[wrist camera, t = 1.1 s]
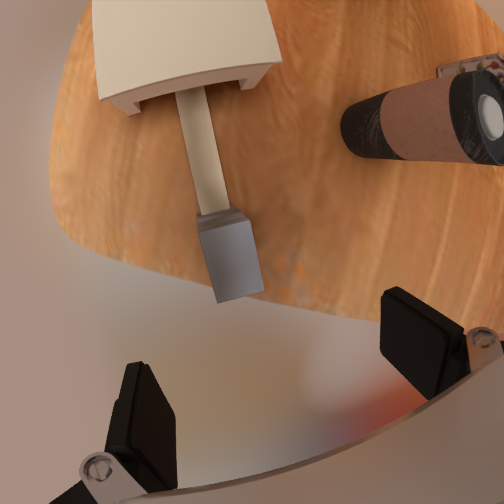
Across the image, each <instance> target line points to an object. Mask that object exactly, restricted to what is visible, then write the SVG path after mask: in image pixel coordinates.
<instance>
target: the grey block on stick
mask: <svg viewBox="0 0 504 504" xmlns="http://www.w3.org/2000/svg"><path fill="white" fill-rule="evenodd" d="M175 96H176V101H177V106H178V111H179V116H180V121H181V126H182V131H183V135H184V140H185V145H186V149H187V154H188V159H189V163H190V168H191V172H192V176H193V181H194V185H195V189H196V194H197V198H198V202H199V206H200V211H201V213H200V214H197V224H198V234H199V238H200V242H201V245H202V249H203V253H204V257H205V261H206V264H207V268H208V272H209V275H210V279H211V283H212V286H213V290H214V293H215V297H216V300H217V303H222V302H225V301H229V300H233V299H237V298H240V297H244V296H248V295H251V294H255V293H259V292H262V291H265V290H264V285H263V280H262V275H261V271H260V266H259V261H258V256H257V251H256V247H255V242H254V237H253V232H252V228H251V223H250V220H249V219H248V218H247V217H246V216H245V215H243V214H242V213H241V212H240V211H239V210H237V209H236V208H235V207H234V206H233V205H232V206H230V205H229V201H228V196H227V191H226V187H225V182H224V178H223V173H222V169H221V164H220V159H219V155H218V150H217V146H216V141H215V136H214V132H213V127H212V122H211V118H210V113H209V108H208V103H207V99H206V94H205V89H204V85H203V86H198V87H194V88H189V89H184V90H180V91H176V92H175Z"/></svg>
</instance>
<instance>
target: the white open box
mask: <svg viewBox="0 0 504 504" xmlns="http://www.w3.org/2000/svg"><path fill="white" fill-rule="evenodd" d="M92 23H93V43H94V57H95V68H96V77H97V86H98V94H99V100H100V101H104V100H107V99H108V100H109V101H110V102H111V103H112V104H114V105H115V106H116V107H117V108H118V109H120V110H121V111H122V112H123V113H124V114H126V115H127V116H131V115H134V114H137V113H140V112H141V110H140V104H139V101H142V100H145V99H149V98H152V97H156V96H160V95H164V94H168V93H172V92H176V91H180V90H184V89H189V88H194V87H198V86H203V85H209V84H214V83H220V82H226V81H232V80H238V81H239V85H240V90H246V89H253V88H255V86H256V85H257V84H258V83H259V81H260V80H261V79H262V78H263V76H264V75H265V74H266V73H267V71H268V70H269V69H270V68H271V67H272V65H273V64H281V63H282V57H281V53H280V49H279V46H278V42H277V38H276V35H275V31H274V28H273V24H272V21H271V17H270V14H269V11H268V8H267V4H266V1H265V0H92Z"/></svg>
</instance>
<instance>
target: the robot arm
mask: <svg viewBox="0 0 504 504" xmlns="http://www.w3.org/2000/svg"><path fill="white" fill-rule="evenodd" d="M463 332H464V328H463V327H461V326H460V325H458V324H457V323H455V322H454V321H452V320H451V319H449V318H448V317H446V316H444V315H443V314H441V313H440V312H438V311H437V310H435V309H433V308H432V307H430V306H429V305H427V304H426V303H424V302H422V301H421V300H419V299H418V298H416V297H414V296H413V295H411V294H410V293H408V292H406V291H405V290H403V289H401V288H400V287H398V286H395V287H393V288H390V289H388V290H385V291H384V293H383V295H382V296H381V325H380V351H381V353H382V355H383V356H384V357H385V358H386V359H387V360H388V361H389V362H390V363H391V364H392V365H393V366H394V367H395V368H396V369H397V370H398V371H399V372H400V373H401V374H402V375H403V376H404V377H405V378H406V379H407V380H408V381H409V382H410V383H411V384H412V385H413V386H414V387H415V388H416V389H417V390H418V391H419V392H420V393H421V394H422V395H423V396H424V397H425V398H426V399H427V400H429V401H428V402H426V403H424V404H423V405H421V406H420V407H418V408H416V409H415V410H413V411H411V412H409V413H408V414H406V415H404V416H402V417H400V418H399V419H397V420H395V421H393V422H391V423H389V424H387V425H385V426H383V427H382V428H380V429H378V430H376V431H374V432H372V433H370V434H367V435H365V436H363V437H361V438H359V439H356V440H354V441H352V442H350V443H347V444H345V445H343V446H340V447H338V448H335V449H333V450H330V451H328V452H325V453H323V454H320V455H317V456H314V457H312V458H309V459H306V460H303V461H300V462H297V463H294V464H291V465H288V466H285V467H281V468H278V469H274V470H271V471H267V472H263V473H260V474H256V475H252V476H248V477H243V478H239V479H234V480H229V481H224V482H219V483H214V484H209V485H203V486H196V487H190V488H182V489H177V487H178V482H177V461H176V419H175V414H174V412H173V410H172V408H171V406H170V404H169V403H168V401H167V399H166V397H165V396H164V394H163V392H162V390H161V388H160V386H159V384H158V382H157V380H156V378H155V376H154V374H153V372H152V370H151V369H150V366H149V365H148V364H144V363H143V362H142V361H139V362H134V363H129V364H127V366H126V370H125V374H124V377H123V381H122V385H121V390H120V394H119V398H118V399H117V400H116V401H115V404H114V407H113V412H112V416H111V421H110V425H109V431H108V435H107V440H106V445H105V450H104V452H96V453H93V454H91V455H89V456H87V457H86V458H85V459H84V460H83V462H82V463H81V465H80V469H79V474H80V477H81V479H82V480H81V481H79V482H78V483H77V484H75V485H74V486H73V487H71V488H70V489H69V490H67V491H66V492H64V493H63V494H62V495H60V496H59V497H57V498H56V499H54V500H53V501H52V502H50V503H49V504H504V341H500V339H499V337H498V335H497V333H496V332H495V331H493V330H491V329H489V328H486V327H477V328H473V329H471V330H470V331H469V332H468V333H467V335H464V334H463ZM174 489H175V490H174Z"/></svg>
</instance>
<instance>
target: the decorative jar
mask: <svg viewBox="0 0 504 504" xmlns="http://www.w3.org/2000/svg"><path fill="white" fill-rule="evenodd" d="M481 69H486V70H489V71H490V72H492V73H493V74H495V75H496V76H497V77H498V79H499V80H500V81H501V82H502V84H503V85H504V56H503V55H501V54H500V53H496V54H490V55H485V56H479V57H474V58H469V59H465V60H460V61H456V62H452V63H449V64H445V65H442V66H439V67H438V68H437V75H438V78H440V77H444V76H449V75H454V74H459V73H464V72H469V71H475V70H481Z"/></svg>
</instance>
